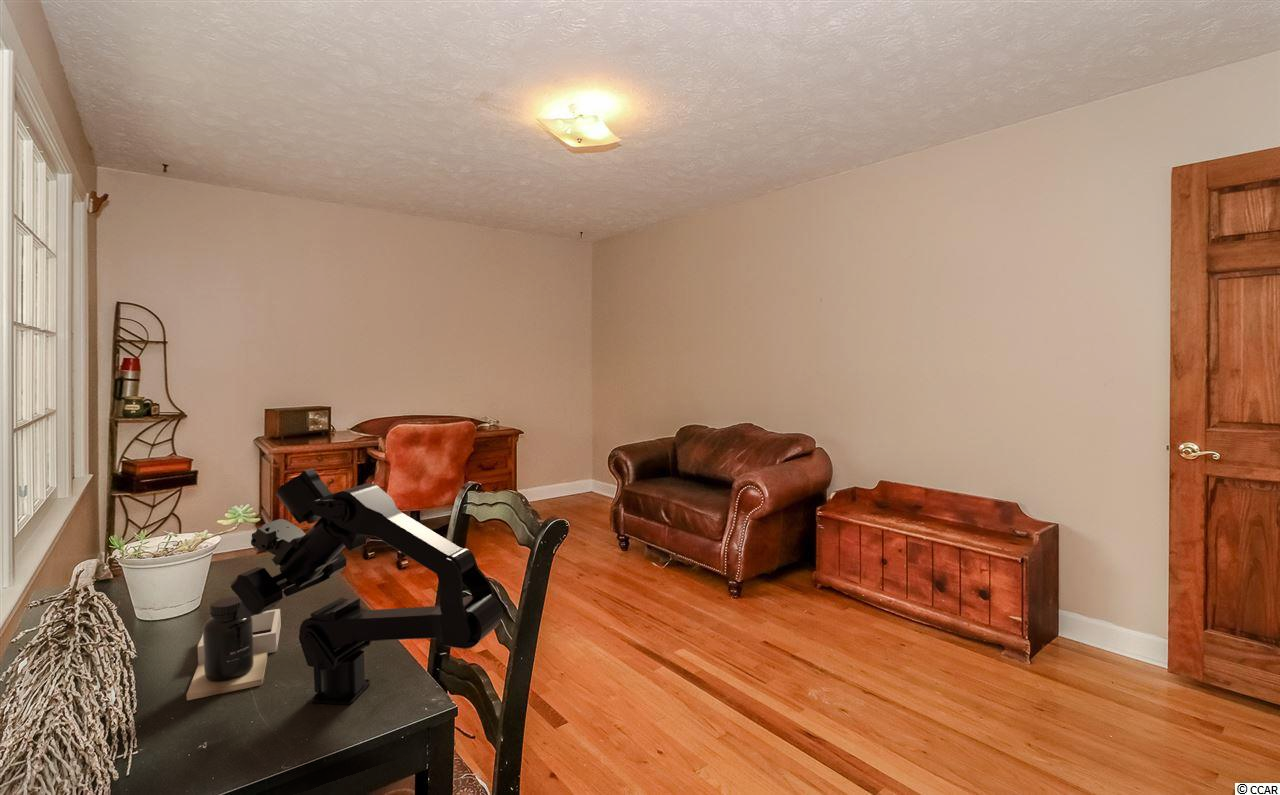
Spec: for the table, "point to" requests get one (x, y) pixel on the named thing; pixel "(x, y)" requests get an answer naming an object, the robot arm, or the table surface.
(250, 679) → the birch pad
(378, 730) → the table surface
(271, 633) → the white open box
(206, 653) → the supplement bottle
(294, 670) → the table surface
